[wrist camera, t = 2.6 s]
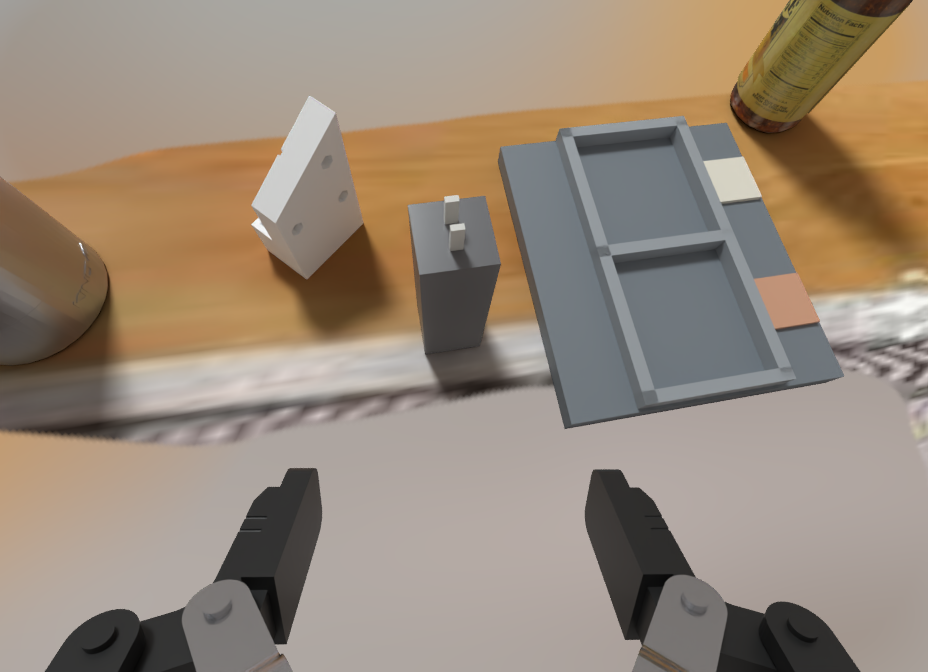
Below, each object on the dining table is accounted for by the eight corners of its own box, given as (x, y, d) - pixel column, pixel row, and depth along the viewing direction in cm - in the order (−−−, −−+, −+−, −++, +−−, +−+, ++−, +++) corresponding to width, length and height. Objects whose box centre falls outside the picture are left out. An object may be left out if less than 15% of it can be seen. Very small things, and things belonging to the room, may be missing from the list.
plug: (425, 354, 31) (418, 256, 19) (417, 304, 32) (405, 182, 20) (479, 345, 31) (505, 244, 19) (469, 296, 32) (488, 173, 21)
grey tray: (564, 428, 30) (577, 420, 27) (497, 161, 37) (502, 134, 34) (825, 382, 32) (860, 371, 29) (715, 138, 39) (735, 110, 36)
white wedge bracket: (400, 160, 33) (335, 112, 25) (329, 281, 35) (247, 275, 27) (360, 134, 34) (283, 78, 25) (292, 254, 36) (201, 239, 27)
